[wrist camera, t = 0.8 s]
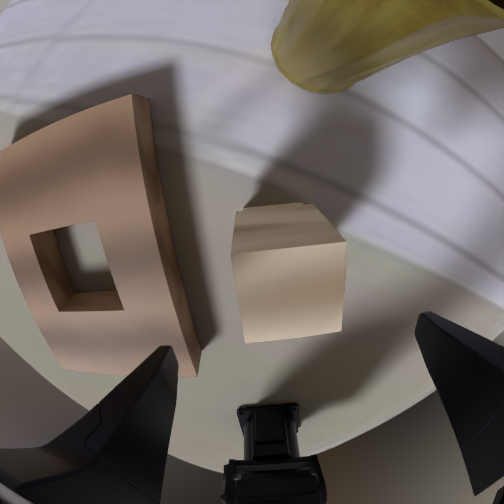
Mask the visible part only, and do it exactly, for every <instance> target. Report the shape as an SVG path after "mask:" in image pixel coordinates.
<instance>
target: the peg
mask: <svg viewBox="0 0 504 504" xmlns="http://www.w3.org/2000/svg"><path fill="white" fill-rule="evenodd" d="M346 245H347V242H346V240H345V239H344V238H343V237H342V236H341V235H340V233H339V232H338V231H337V230H336V229H335V228H334V227H333V225H332V224H331V223H330V222H329V221H328V220H327V219H326V217H325V216H324V215H323V214H322V213H321V212H320V211H319V210H318V208H317V207H316V206H315V205H314V204H306V205H303V203H302V202H297V203H286V204H276V205H266V206H256V207H247V208H243V211H237V212H236V217H235V225H234V232H233V240H232V248H231V259H232V266H233V272H234V278H235V285H236V291H237V297H238V303H239V310H240V316H241V322H242V328H243V334H244V340H245V343H254V342H264V341H274V340H283V339H291V338H299V337H307V336H314V335H321V334H327V333H334V332H340V331H341V328H342V317H343V305H344V290H345V273H346Z"/></svg>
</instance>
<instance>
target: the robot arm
mask: <svg viewBox="0 0 504 504" xmlns="http://www.w3.org/2000/svg"><path fill="white" fill-rule="evenodd" d="M415 337H416V339H417V342H418V345H419V347H420V350H421V353H422V356H423V358H424V361H425V364H426V367H427V369H428V371H429V374H430V376H431V378H432V380H433V382H434V384H435V387H436V389H437V391H438V393H439V396H440V398H441V400H442V403H443V405H444V408H445V410H446V412H447V415H448V417H449V420H450V422H451V425H452V428H453V430H454V433H455V436H456V438H457V441H458V444H459V447H460V450H461V452H462V456H463V459H464V462H465V465H466V469H467V472H468V475H469V479H470V482H471V486H472V489H473V493H474V495H475V496H476V495H478V494H480V493H481V492H483V491H484V490H485V489H487V488H489V487H490V486H491V485H493V484H494V483H496V482H497V481H498V480H500V479H501V478H502V477H504V347H503V346H501V345H498V344H497V343H495V342H493V341H491V340H489V339H487V338H485V337H483V336H481V335H479V334H477V333H475V332H472V331H470V330H468V329H466V328H464V327H462V326H460V325H458V324H456V323H454V322H452V321H449V320H447V319H445V318H443V317H441V316H439V315H437V314H435V313H432V312H430V311H427V312H423V313H420V314H419V317H418V320H417V324H416V328H415ZM178 370H179V365H178V360H177V358H176V355H175V353H174V350H173V348H172V346H170V345H161V346H159V347H158V348H157V349H156V350H155V351H154V352H153V353H151V354H150V355H149V356H148V357H147V358H146V359H145V360H144V361H143V362H142V363H141V364H140V365H139V366H138V367H136V368H135V369H134V370H133V371H132V372H131V373H130V374H129V375H128V376H127V377H126V378H125V379H124V380H123V381H121V382H120V383H119V384H118V385H117V386H116V387H115V388H114V389H113V390H112V391H111V392H110V393H109V394H108V395H106V396H105V397H104V398H103V399H102V400H101V401H100V402H99V404H97V405H96V406H94V407H93V408H92V409H91V410H90V411H89V412H88V413H87V414H86V415H84V416H83V417H82V418H81V419H80V420H78V421H77V422H76V423H75V424H73V425H72V426H71V427H69V428H68V429H67V430H65V431H64V432H63V433H61V434H60V435H59V436H57V437H56V438H54V439H53V440H52V441H50V442H49V443H47V444H45V445H43V446H40V447H36V448H18V449H3V448H2V449H1V448H0V504H160V499H161V492H162V485H163V478H164V472H165V465H166V459H167V453H168V447H169V441H170V435H171V429H172V424H173V418H174V413H175V407H176V399H177V384H178ZM298 414H299V407H298V404H296V403H292V404H284V405H275V406H264V407H251V408H239V409H237V416H238V419H239V422H240V426H241V429H242V432H243V436H244V460H235V459H229V464H227V465H224V477H223V483H222V489H221V494H220V499H221V501H222V502H224V503H225V504H326V500H327V492H326V485H325V481H324V478H323V474H322V471H321V468H320V464H319V461H318V458H317V455H316V454H315V455H311V456H305V457H300V454H299V447H298V440H297V432H298ZM238 478H241V480H237V479H238ZM493 504H504V486H503V487H502V488H500V489H499V490H498V491H497V494H496V496H495V499H494V501H493Z"/></svg>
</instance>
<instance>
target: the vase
mask: <svg viewBox="0 0 504 504" xmlns="http://www.w3.org/2000/svg"><path fill="white" fill-rule="evenodd" d="M501 28H504V0H289V3H288V5H287V7H286V9H285V11H284V13H283V16H282V19H281V21H280V23H279V25H278V26H277V27H276V29H275V31H274V33H273V37H272V42H271V51H272V55H273V57H274V60H275V63H276V65H277V67H278V69H279V70H280V71H281V73H282V74H283V75H284V76H285V77H286V78H287V79H288V80H290V81H291V82H292V83H294V84H295V85H297V86H299V87H301V88H303V89H305V90H308V91H311V92H315V93H325V94H326V93H335V92H340V91H343V90H345V89H347V88H349V87H350V86H351V85H353V84H354V83H356V82H358V81H360V80H363V79H365V78H367V77H369V76H371V75H373V74H375V73H377V72H379V71H381V70H383V69H385V68H387V67H389V66H391V65H394V64H396V63H398V62H400V61H402V60H405V59H407V58H409V57H411V56H414V55H416V54H418V53H421V52H423V51H426V50H428V49H431V48H434V47H437V46H439V45H442V44H445V43H448V42H451V41H454V40H457V39H461V38H464V37H468V36H472V35H476V34H481V33H485V32H489V31H493V30H497V29H501Z"/></svg>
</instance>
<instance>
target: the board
mask: <svg viewBox="0 0 504 504" xmlns="http://www.w3.org/2000/svg"><path fill="white" fill-rule="evenodd" d="M95 220H96V224H97V227H98V231H99V235H100V238H101V242H102V245H103V249H104V252H105V255H106V259H107V262H108V265H109V268H110V271H111V274H112V277H113V280H114V283H115V286H116V289H117V290H108V291H92V292H75V291H74V288H73V286H72V283H71V281H70V278H69V275H68V273H67V270H66V267H65V264H64V261H63V259H62V256H61V253H60V250H59V246H58V243H57V240H56V237H55V233H54V230H53V229H57V228H61V227H66V226H70V225H75V224H80V223H85V222H90V221H95ZM0 233H1V236H2V240H3V243H4V246H5V249H6V252H7V255H8V258H9V261H10V263H11V266H12V269H13V271H14V274H15V277H16V279H17V281H18V284H19V286H20V289H21V291H22V293H23V296H24V298H25V300H26V302H27V304H28V307H29V309H30V311H31V313H32V315H33V317H34V319H35V321H36V323H37V325H38V327H39V329H40V330H41V332H42V334H43V336H44V338H45V340H46V341H47V343H48V345H49V347H50V348H51V350H52V352H53V353H54V355H55V357H56V358H57V360H58V362H59V363H60V365H61V366H62V368H63V369H69V370H76V371H84V372H93V373H103V374H115V375H129V374H130V373H131V372H132V371H133V370H134V369H135V368H136V367H138V366H139V365H140V364H141V363H142V362H143V361H144V360H145V359H146V358H147V357H148V356H149V355H150V354H151V353H153V352H154V351H155V350H156V349H157V348H158V347H159V346H161V345H170V346H172V348H173V350H174V353H175V355H176V358H177V360H178V365H179V370H178V377H197V375H198V369H199V363H200V358H201V352H202V351H201V348H200V344H199V341H198V338H197V334H196V331H195V327H194V324H193V320H192V317H191V313H190V309H189V306H188V302H187V298H186V294H185V290H184V287H183V283H182V279H181V274H180V270H179V266H178V262H177V258H176V253H175V249H174V245H173V240H172V235H171V231H170V226H169V221H168V216H167V211H166V206H165V201H164V196H163V190H162V185H161V179H160V173H159V167H158V161H157V154H156V148H155V141H154V134H153V126H152V119H151V111H150V102H149V99H146V98H143V97H140V96H137V95H133V94H130V95H127V96H123V97H120V98H117V99H114V100H111V101H108V102H105V103H102V104H99V105H96V106H94V107H91V108H88V109H86V110H83V111H80V112H78V113H76V114H73V115H71V116H68V117H66V118H64V119H61V120H59V121H57V122H55V123H52V124H50V125H48V126H46V127H44V128H42V129H40V130H38V131H36V132H34V133H32V134H30V135H28V136H26V137H24V138H22V139H20V140H19V141H17V142H15V143H13V144H11V145H10V146H8V147H6V148H4V149H3V150H1V151H0Z"/></svg>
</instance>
